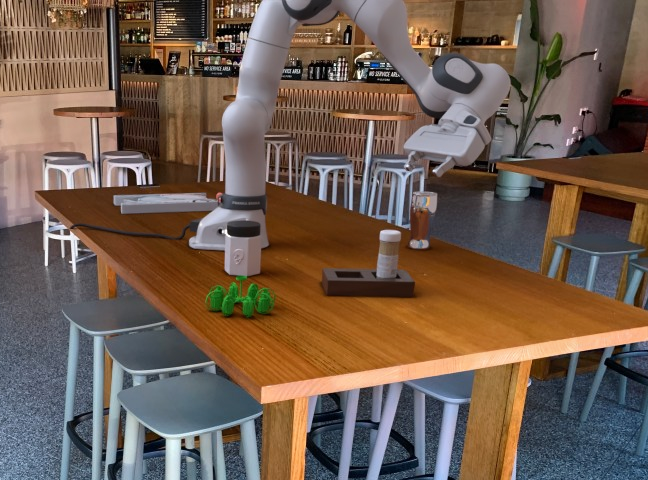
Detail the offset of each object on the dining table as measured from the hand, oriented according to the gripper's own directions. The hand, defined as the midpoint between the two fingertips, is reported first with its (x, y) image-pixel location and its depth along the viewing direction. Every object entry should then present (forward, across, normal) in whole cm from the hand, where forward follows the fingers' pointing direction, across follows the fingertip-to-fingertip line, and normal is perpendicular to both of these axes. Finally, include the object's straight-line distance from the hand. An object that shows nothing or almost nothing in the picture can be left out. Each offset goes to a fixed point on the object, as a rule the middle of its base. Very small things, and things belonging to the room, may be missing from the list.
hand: (421, 172), depth 183 cm
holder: (+30, +6, +5) cm, 31 cm away
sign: (+26, -111, +10) cm, 115 cm away
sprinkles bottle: (+27, +8, +8) cm, 29 cm away
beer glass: (0, -23, +34) cm, 41 cm away
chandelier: (+54, +6, -18) cm, 57 cm away
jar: (+42, -21, -7) cm, 48 cm away
